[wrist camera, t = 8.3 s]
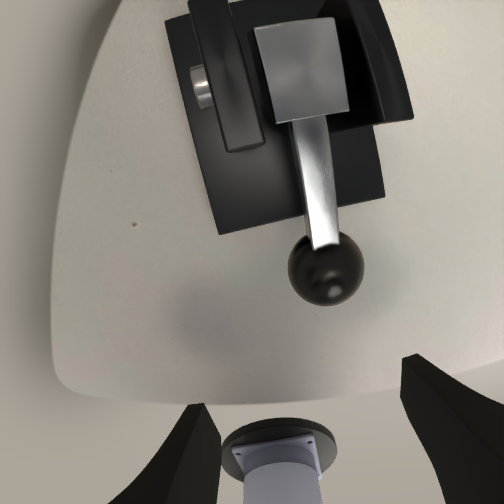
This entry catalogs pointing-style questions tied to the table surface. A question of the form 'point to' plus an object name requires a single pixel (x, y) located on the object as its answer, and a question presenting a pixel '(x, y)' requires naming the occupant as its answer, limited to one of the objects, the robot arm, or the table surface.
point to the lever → (310, 147)
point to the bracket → (257, 117)
